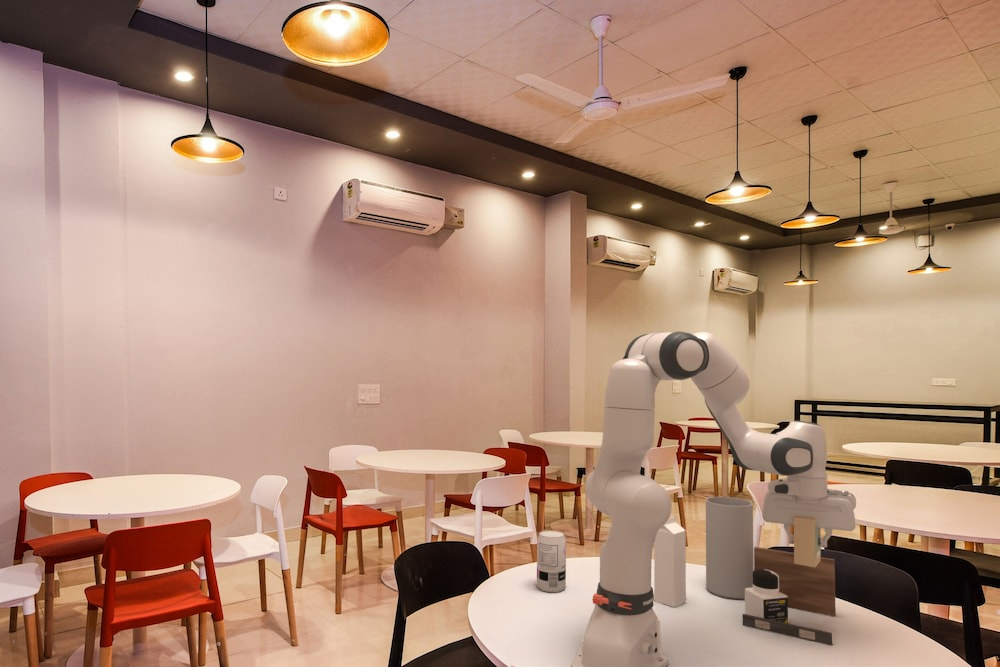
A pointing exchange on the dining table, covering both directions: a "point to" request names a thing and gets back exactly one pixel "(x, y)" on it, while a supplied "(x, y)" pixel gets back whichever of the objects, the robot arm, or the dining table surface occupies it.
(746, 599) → the medicine bottle
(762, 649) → the dining table surface
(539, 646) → the dining table surface
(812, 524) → the carton
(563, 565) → the supplement can
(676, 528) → the milk
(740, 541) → the cylinder vase
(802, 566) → the brown flat boards
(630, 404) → the robot arm
